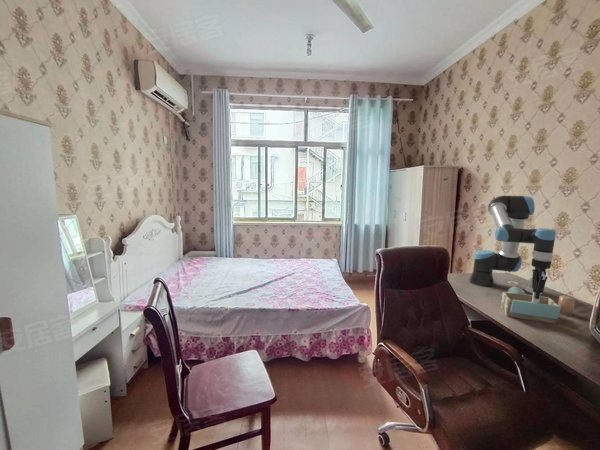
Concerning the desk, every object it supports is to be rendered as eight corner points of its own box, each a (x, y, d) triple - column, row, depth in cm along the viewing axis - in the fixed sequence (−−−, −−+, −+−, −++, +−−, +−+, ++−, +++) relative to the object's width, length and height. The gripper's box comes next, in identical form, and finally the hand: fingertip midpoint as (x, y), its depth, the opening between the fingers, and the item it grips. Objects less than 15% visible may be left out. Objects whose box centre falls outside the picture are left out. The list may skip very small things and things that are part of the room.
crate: (500, 306, 171) (502, 291, 170) (547, 312, 163) (549, 297, 161) (506, 316, 158) (508, 300, 157) (557, 324, 150) (560, 307, 149)
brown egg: (555, 309, 167) (557, 294, 166) (569, 311, 165) (571, 296, 163) (559, 314, 161) (562, 298, 160) (574, 316, 159) (577, 300, 158)
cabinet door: (509, 311, 157) (512, 299, 154) (556, 319, 150) (560, 305, 146) (509, 313, 156) (513, 300, 153) (557, 320, 149) (561, 307, 145)
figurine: (522, 287, 203) (524, 272, 201) (539, 289, 199) (541, 274, 198) (527, 293, 192) (529, 277, 190) (545, 295, 188) (547, 279, 187)
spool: (530, 302, 168) (522, 285, 171) (511, 306, 173) (503, 289, 176) (529, 300, 179) (521, 284, 183) (511, 304, 184) (503, 288, 187)
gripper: (528, 255, 154) (522, 298, 158) (536, 261, 143) (530, 307, 146) (546, 257, 151) (539, 300, 155) (556, 263, 140) (549, 310, 144)
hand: (535, 303), depth 151 cm, fingers closed
